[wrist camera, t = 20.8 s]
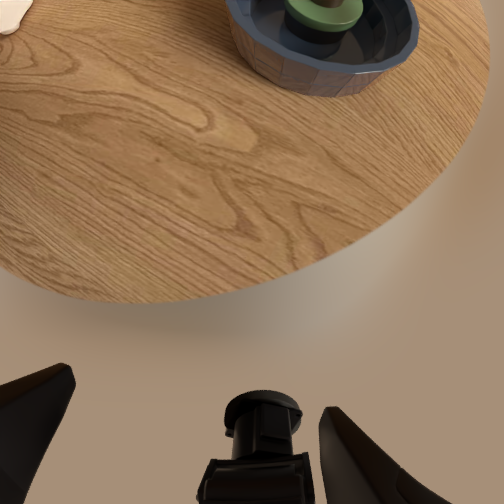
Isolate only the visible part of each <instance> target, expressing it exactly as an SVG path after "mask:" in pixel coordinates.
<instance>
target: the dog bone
mask: <svg viewBox="0 0 504 504" xmlns="http://www.w3.org/2000/svg"><path fill="white" fill-rule="evenodd" d="M32 3H33V0H0V33H1V34H4V35H7V34H11V33H13V32H15V31H16V30H17V29H18V28H19V26H20V23H19V22H20V21H21V19H22V17H23V16H24V14H25V13H26V11H27V10H28V9H29V8H30V6H31V5H32Z"/></svg>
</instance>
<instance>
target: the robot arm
mask: <svg viewBox="0 0 504 504" xmlns="http://www.w3.org/2000/svg"><path fill="white" fill-rule="evenodd" d="M75 387H76V382H75V378H74V375H73V372H72V369H71V367H70V366H69V365H67V364H64V363H58V364H56V365H53V366H51V367H48V368H45V369H43V370H40V371H38V372H35V373H32V374H30V375H27V376H24V377H22V378H19V379H17V380H14V381H11V382H8V383H6V384H3V385H0V504H23V503H24V501H25V498H26V496H27V493H28V490H29V488H30V486H31V483H32V481H33V478H34V476H35V474H36V472H37V469H38V467H39V465H40V463H41V461H42V459H43V456H44V454H45V452H46V450H47V448H48V446H49V444H50V442H51V440H52V438H53V436H54V434H55V432H56V430H57V428H58V426H59V425H60V423H61V421H62V418H63V416H64V414H65V412H66V409H67V406H68V404H69V402H70V399H71V397H72V394H73V392H74V390H75ZM302 416H303V412H302V410H299V409H293V408H288V407H283V406H278V405H273V404H268V403H264V402H259V401H255V400H251V399H247V398H244V399H241V401H240V403H239V405H238V407H237V409H236V411H235V413H234V415H233V417H232V419H231V421H230V423H229V425H228V427H227V429H226V432H225V435H226V436H227V437H231V438H234V439H233V449H232V458H231V460H217V459H211V460H210V463H209V465H208V466H207V469H206V471H205V473H204V476H203V478H202V481H201V483H200V486H199V489H198V494H197V495H196V500H197V501H198V502H199V504H315V494H314V486H313V479H312V473H311V466H310V461H309V455H308V452H304V453H302V454H296V455H293V447H292V436H291V431H292V430H293V429H294V427H295V426H296V425H297V423H298V422H299V420H300V419H301V417H302ZM319 443H320V463H321V470H322V476H323V482H324V487H325V493H326V499H327V504H451V503H450V502H448V501H447V500H445V499H443V498H442V497H440V496H438V495H437V494H436V493H434V492H432V491H431V490H429V489H428V488H426V487H425V486H424V485H422V484H421V483H419V482H418V481H417V480H416V479H414V478H413V477H412V476H411V475H410V474H408V473H407V472H406V471H405V470H404V469H403V468H400V465H398V464H397V463H396V462H395V461H394V460H393V459H392V458H391V457H390V456H389V455H387V454H386V453H385V452H384V451H383V450H382V449H381V448H380V447H379V446H378V445H377V444H376V443H374V441H373V440H372V439H371V438H370V437H368V436H367V435H366V434H365V433H364V432H363V431H362V430H361V429H360V428H359V427H358V426H357V425H356V424H355V423H354V422H353V421H352V420H351V419H350V418H349V417H348V416H347V415H346V414H345V413H344V412H343V411H342V410H341V409H340V408H339V407H336V406H335V407H326V408H325V409H324V412H323V414H322V417H321V419H320V422H319Z"/></svg>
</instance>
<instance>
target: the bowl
mask: <svg viewBox="0 0 504 504" xmlns="http://www.w3.org/2000/svg"><path fill="white" fill-rule="evenodd" d="M224 1H225V5H226V10H227V14H228V19H229V24H230V28H231V33H232V36H233V39H234V41H235V44H236V46H237V49H238V51H239V53H240V54H241V55H242V57H243V58H244V59H245V60H246V61H247V62H248V63H249V64H250V66H251V67H252V68H253V69H254V70H255V71H256V72H258V73H259V74H261V75H263V76H264V77H266V78H267V79H269V80H271V81H272V82H274V83H275V84H277V85H279V86H281V87H284V88H287V89H290V90H293V91H295V92H298V93H301V94H304V95H312V96H323V97H340V96H345V95H352V94H357V93H360V92H361V91H363V90H365V89H367V88H369V87H371V86H372V85H374V84H376V83H377V82H379V81H380V80H381V79H382V78H384V77H385V76H386V75H388V74H389V73H390V72H392V71H393V70H394V69H396V68H397V67H398V66H400V65H401V64H402V63H404V62H405V61H406V60H407V58H408V57H409V56H410V54H411V53H412V52H413V50H414V49H415V48H416V46H417V42H418V35H419V28H420V27H419V22H418V18H417V15H416V11H415V8H414V5H413V4H412V2H411V0H362V3H363V12H362V14H361V16H360V17H359V19H358V20H357V22H356V23H355V25H354V26H352V27H351V28H349V29H348V31H347V32H346V34H345V36H344V37H343V38H342V39H341V40H339V41H337V42H335V43H332V44H314V43H310V42H307V41H305V40H303V39H300V38H299V37H297V36H296V35H295V34H293V33H292V32H291V31H290V30H289V28H288V27H287V25H286V23H285V20H284V14H285V5H284V0H224Z"/></svg>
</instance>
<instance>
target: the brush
mask: <svg viewBox="0 0 504 504" xmlns="http://www.w3.org/2000/svg"><path fill="white" fill-rule="evenodd" d="M284 5H285V14H284V20H285V23H286V25H287V27H288V28H289V30H290V31H291V32H292V33H293V34H295V35H296V36H297V37H299V38H300V39H303V40H305V41H307V42H310V43H314V44H332V43H335V42H337V41H339V40H341V39H342V38H343V37H344V36H345V34H346V32H347V31H348V29H349V28H351V27H352V26H354V25H355V23H356V22H357V20H358V19H359V17H360V16H361V14H362V12H363V3H362V0H284Z"/></svg>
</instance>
